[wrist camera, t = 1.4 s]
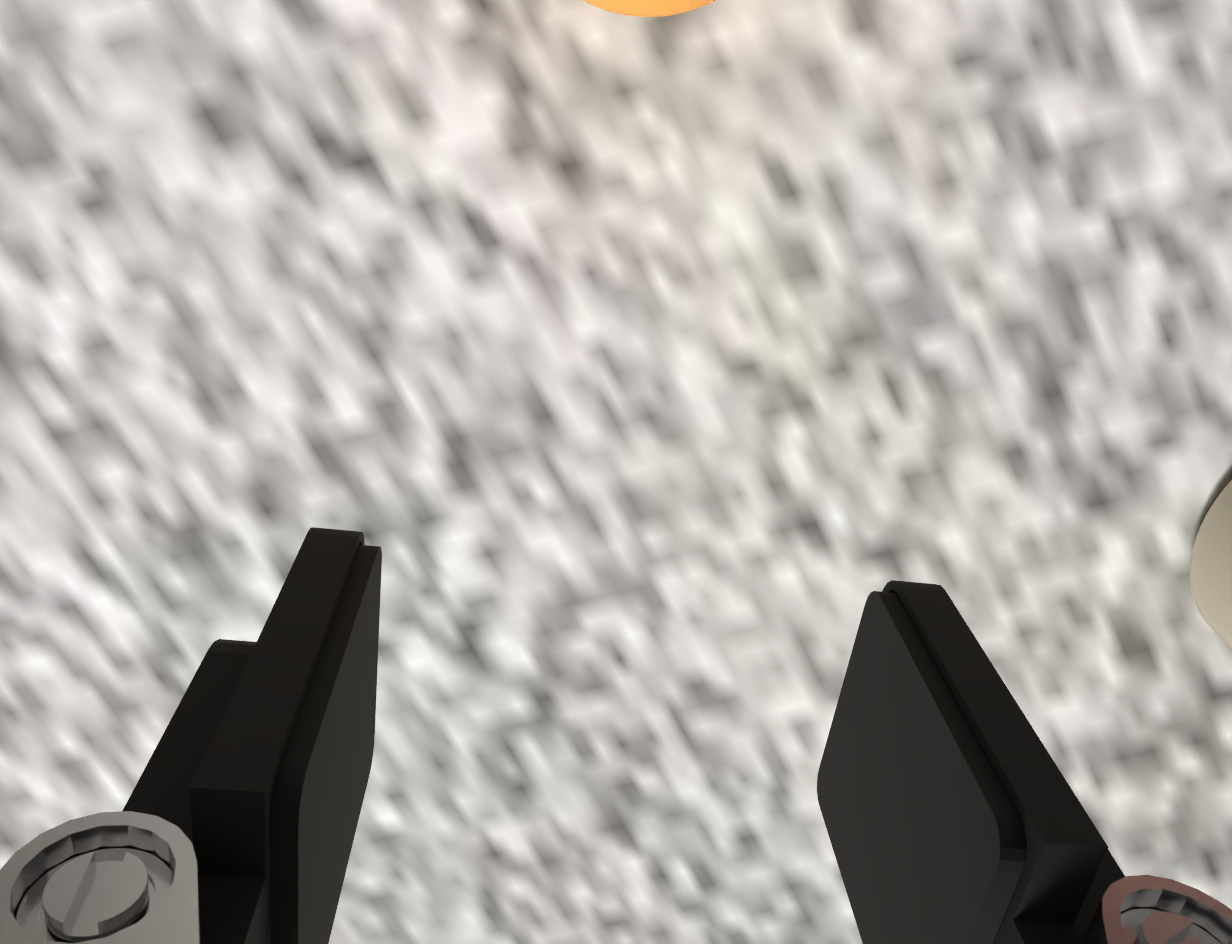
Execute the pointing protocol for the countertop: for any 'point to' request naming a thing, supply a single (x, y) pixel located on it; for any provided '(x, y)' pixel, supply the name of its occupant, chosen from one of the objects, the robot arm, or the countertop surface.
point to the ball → (648, 6)
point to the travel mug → (1215, 566)
